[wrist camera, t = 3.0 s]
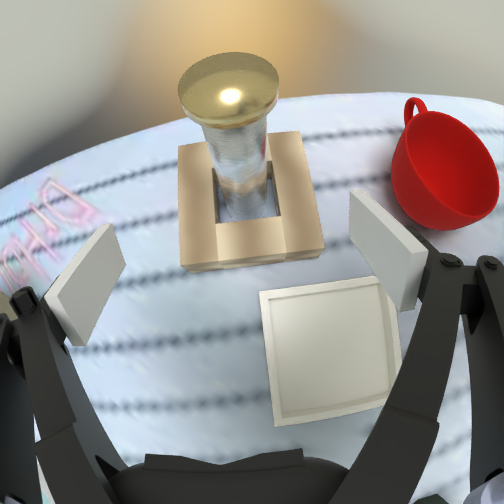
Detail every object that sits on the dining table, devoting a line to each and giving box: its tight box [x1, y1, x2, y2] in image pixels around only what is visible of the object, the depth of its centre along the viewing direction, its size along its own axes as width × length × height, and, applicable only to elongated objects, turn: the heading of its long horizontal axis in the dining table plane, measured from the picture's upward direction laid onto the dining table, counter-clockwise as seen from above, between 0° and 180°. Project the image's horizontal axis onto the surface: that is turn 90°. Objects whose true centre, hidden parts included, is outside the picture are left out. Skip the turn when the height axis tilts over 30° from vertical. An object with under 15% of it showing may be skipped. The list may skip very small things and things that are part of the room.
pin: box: [178, 52, 279, 221], centre depth 24 cm, size 6×6×19 cm
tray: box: [259, 275, 402, 427], centre depth 28 cm, size 14×14×3 cm
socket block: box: [178, 131, 325, 273], centre depth 32 cm, size 14×14×4 cm
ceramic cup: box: [391, 97, 499, 230], centre depth 29 cm, size 13×17×10 cm
